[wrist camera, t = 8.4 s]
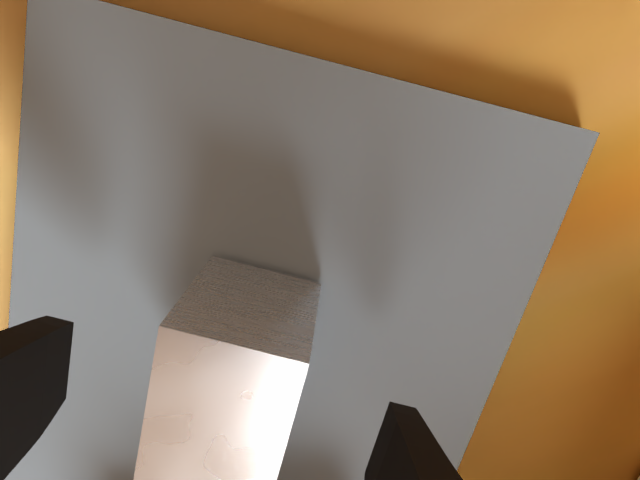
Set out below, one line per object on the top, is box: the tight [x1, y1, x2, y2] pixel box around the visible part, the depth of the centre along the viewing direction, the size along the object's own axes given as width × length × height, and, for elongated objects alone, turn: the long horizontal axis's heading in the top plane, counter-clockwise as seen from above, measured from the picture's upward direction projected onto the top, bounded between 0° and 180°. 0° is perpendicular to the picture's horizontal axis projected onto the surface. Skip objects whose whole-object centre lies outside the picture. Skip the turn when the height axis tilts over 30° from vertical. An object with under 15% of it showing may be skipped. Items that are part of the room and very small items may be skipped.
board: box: [4, 0, 599, 480], centre depth 16 cm, size 20×14×1 cm
